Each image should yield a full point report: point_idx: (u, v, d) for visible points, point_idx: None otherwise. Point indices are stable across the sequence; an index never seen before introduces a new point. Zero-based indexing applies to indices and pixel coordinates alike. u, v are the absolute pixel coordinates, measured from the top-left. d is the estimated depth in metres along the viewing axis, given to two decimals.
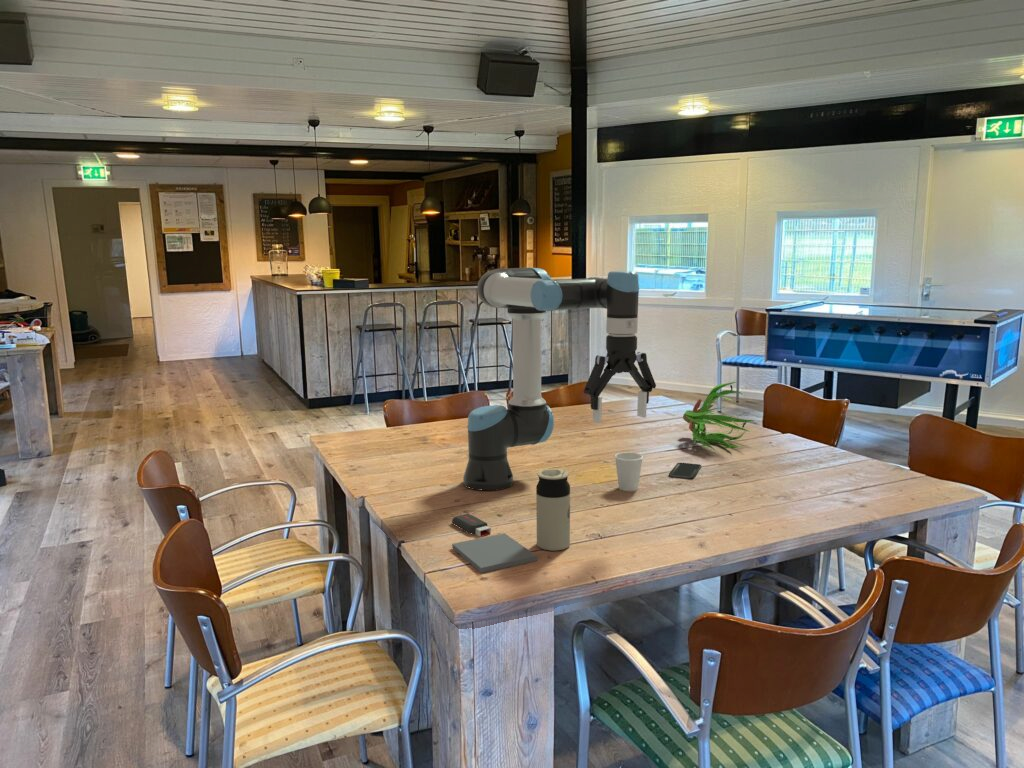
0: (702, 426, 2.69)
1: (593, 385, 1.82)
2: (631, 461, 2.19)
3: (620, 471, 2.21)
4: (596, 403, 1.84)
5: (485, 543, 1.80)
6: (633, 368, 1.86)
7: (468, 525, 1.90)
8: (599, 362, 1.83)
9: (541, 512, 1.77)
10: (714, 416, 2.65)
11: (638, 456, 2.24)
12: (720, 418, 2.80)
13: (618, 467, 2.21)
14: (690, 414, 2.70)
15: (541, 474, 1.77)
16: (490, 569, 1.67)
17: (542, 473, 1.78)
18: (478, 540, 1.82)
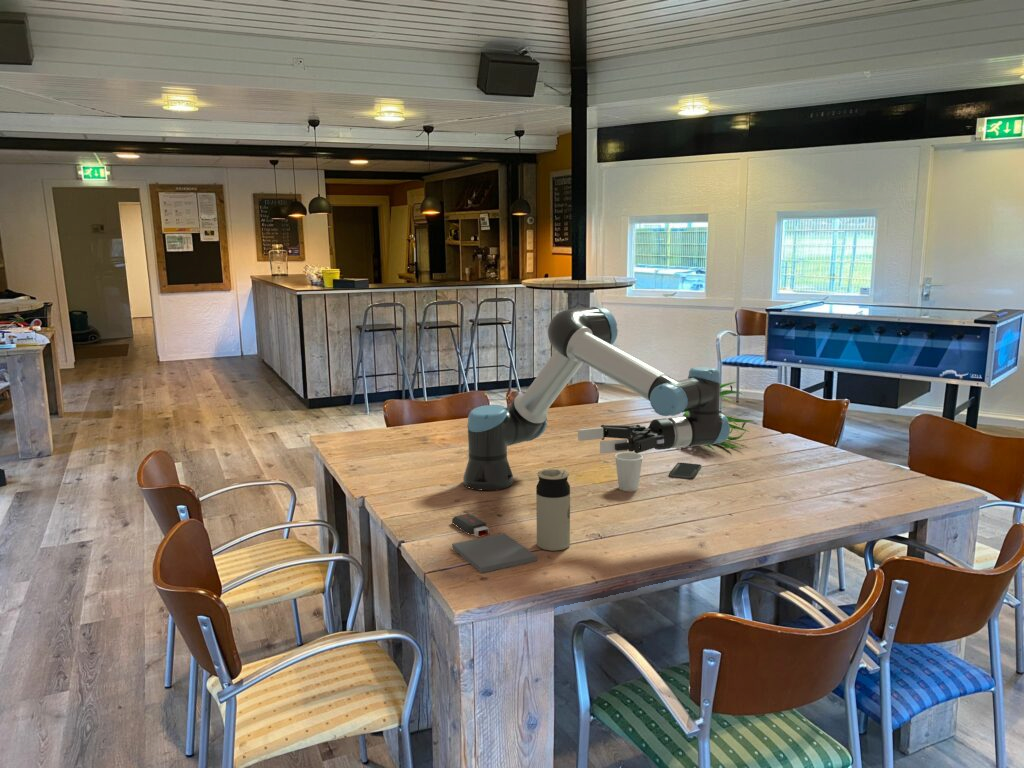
0: None
1: None
2: (631, 461, 2.19)
3: (620, 471, 2.21)
4: None
5: (485, 543, 1.80)
6: None
7: (467, 525, 1.90)
8: (659, 444, 1.78)
9: (541, 512, 1.77)
10: None
11: (638, 456, 2.24)
12: None
13: (618, 467, 2.21)
14: None
15: (541, 474, 1.77)
16: (490, 569, 1.67)
17: (542, 473, 1.78)
18: (478, 540, 1.82)
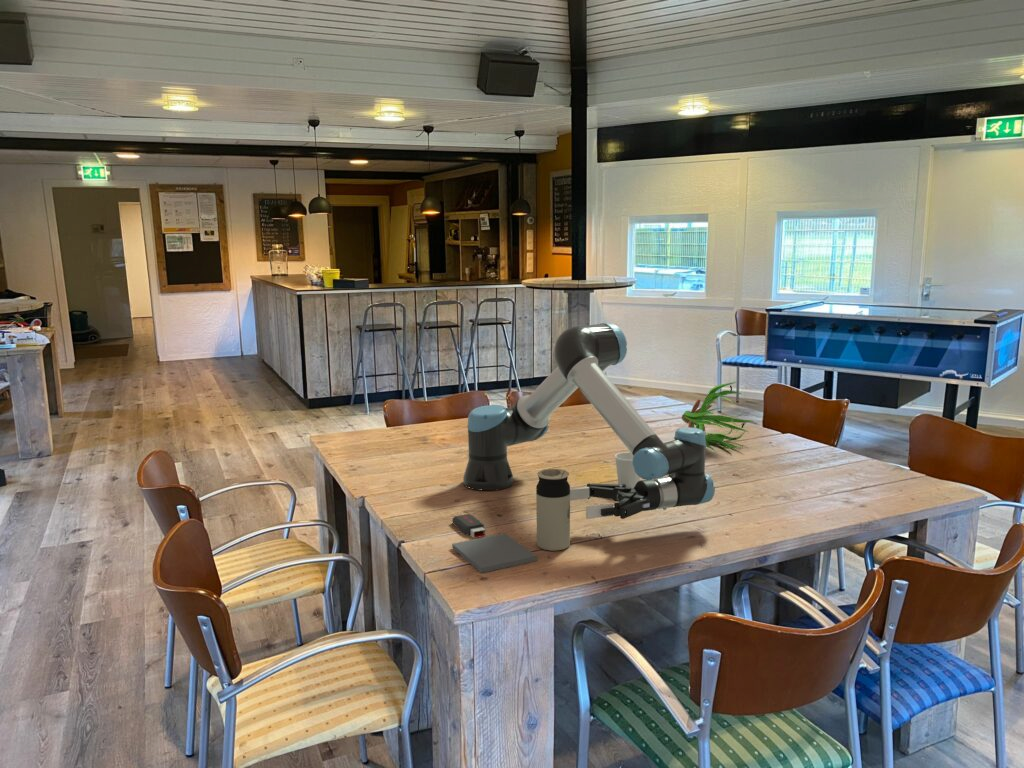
0: (701, 426, 2.69)
1: None
2: (631, 461, 2.19)
3: (620, 471, 2.21)
4: None
5: (485, 543, 1.80)
6: None
7: (464, 525, 1.90)
8: (645, 508, 1.79)
9: (541, 512, 1.77)
10: (714, 416, 2.65)
11: None
12: (719, 418, 2.80)
13: (618, 467, 2.21)
14: (689, 414, 2.69)
15: (541, 474, 1.77)
16: (490, 569, 1.67)
17: (542, 473, 1.78)
18: (478, 540, 1.82)
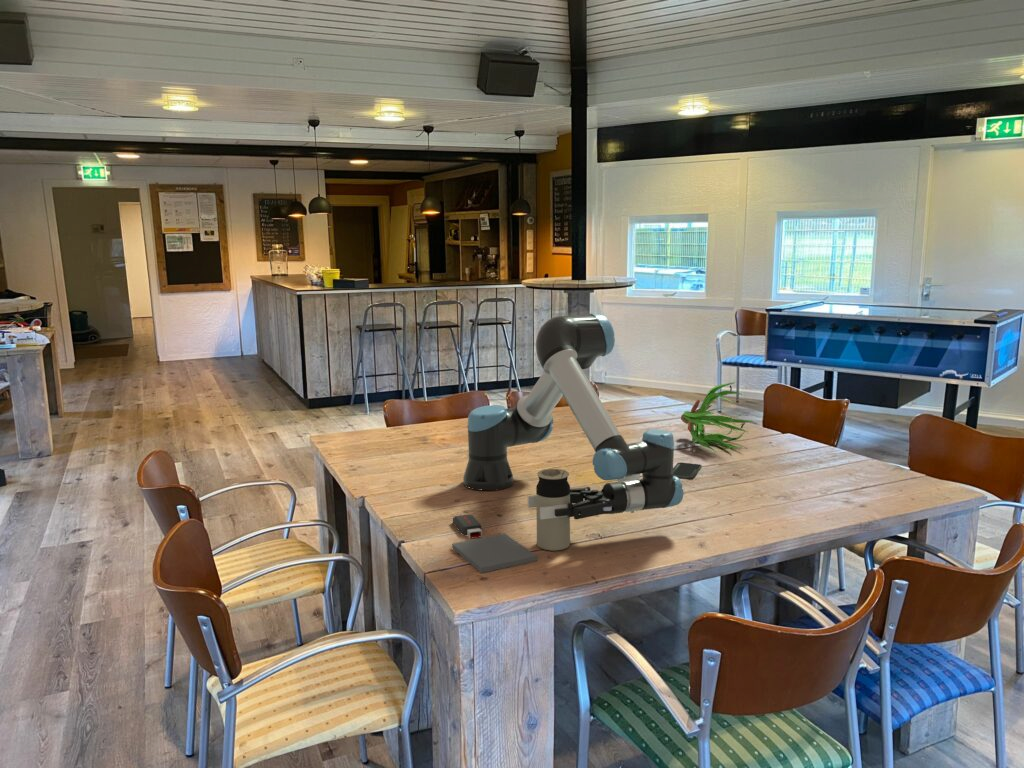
0: (701, 427, 2.68)
1: None
2: None
3: None
4: None
5: (485, 543, 1.80)
6: None
7: (462, 526, 1.90)
8: (605, 511, 1.77)
9: None
10: (713, 417, 2.64)
11: None
12: (718, 419, 2.79)
13: None
14: (689, 415, 2.68)
15: (541, 474, 1.77)
16: (490, 569, 1.67)
17: (542, 473, 1.78)
18: (478, 540, 1.82)
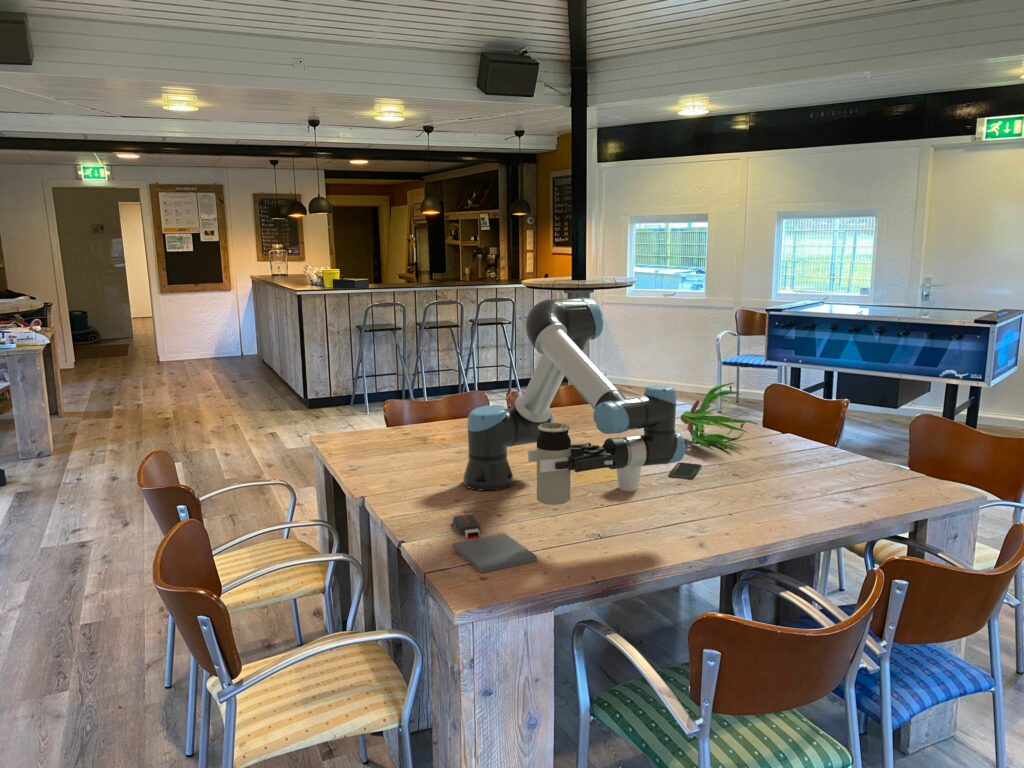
0: (701, 427, 2.68)
1: None
2: None
3: (620, 471, 2.21)
4: None
5: (485, 543, 1.80)
6: None
7: (460, 526, 1.90)
8: (606, 465, 1.75)
9: None
10: (713, 417, 2.64)
11: None
12: (718, 419, 2.79)
13: None
14: (689, 415, 2.68)
15: (541, 427, 1.75)
16: (490, 569, 1.67)
17: (542, 426, 1.76)
18: (478, 540, 1.82)
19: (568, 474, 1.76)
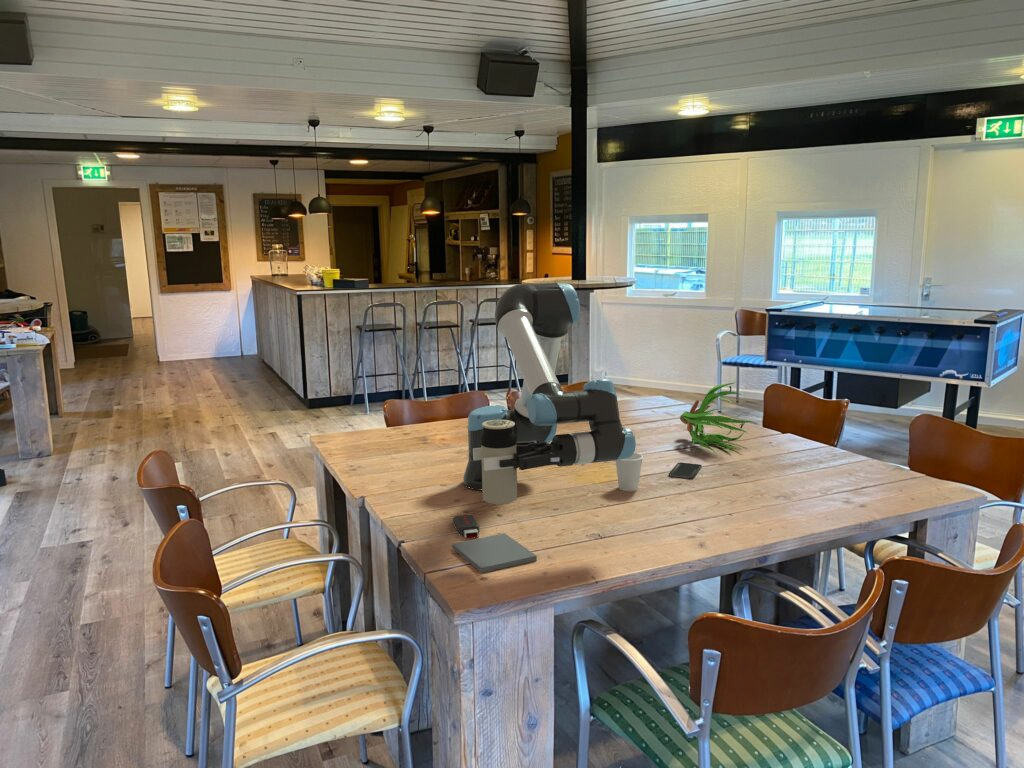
0: (701, 427, 2.67)
1: None
2: (631, 461, 2.19)
3: (620, 471, 2.21)
4: None
5: (485, 543, 1.80)
6: None
7: (459, 526, 1.90)
8: (553, 462, 1.70)
9: None
10: (713, 417, 2.64)
11: (638, 456, 2.24)
12: (717, 419, 2.79)
13: (618, 467, 2.21)
14: (688, 415, 2.68)
15: (485, 424, 1.70)
16: (490, 569, 1.67)
17: (487, 423, 1.71)
18: (478, 540, 1.82)
19: (514, 472, 1.71)
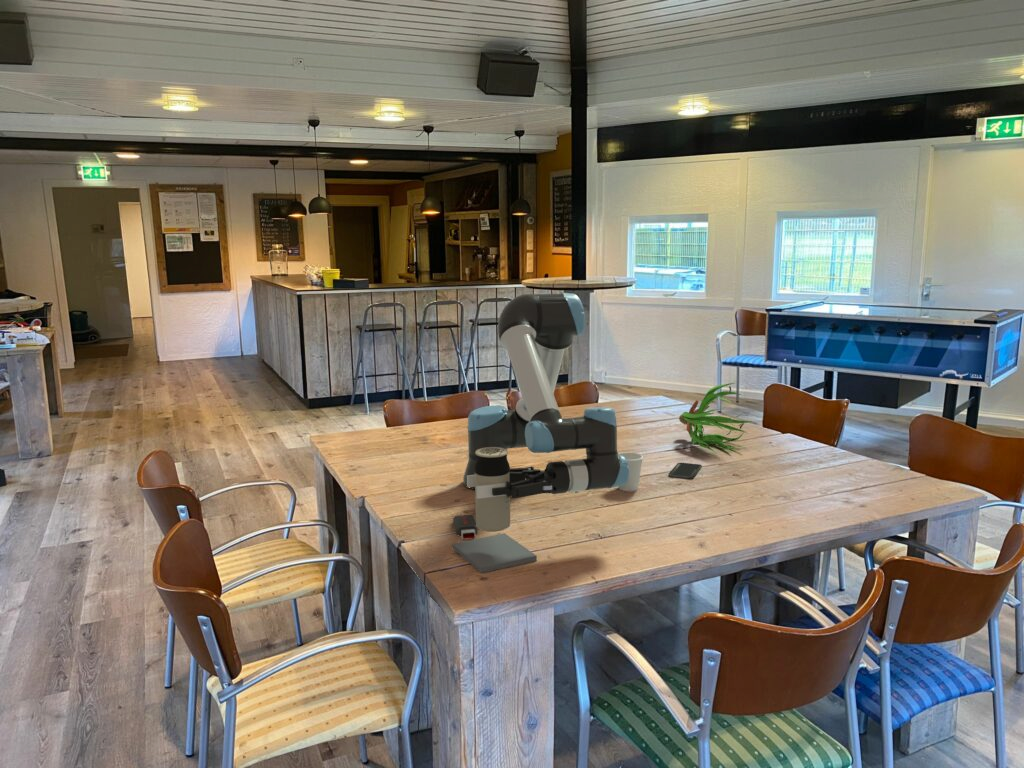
0: (700, 428, 2.67)
1: None
2: (631, 461, 2.19)
3: None
4: None
5: (485, 543, 1.80)
6: None
7: (457, 526, 1.90)
8: (545, 491, 1.71)
9: None
10: (713, 417, 2.63)
11: (638, 456, 2.24)
12: (716, 419, 2.78)
13: None
14: (688, 416, 2.67)
15: (479, 452, 1.71)
16: (490, 569, 1.67)
17: (480, 451, 1.72)
18: (478, 540, 1.82)
19: (507, 500, 1.72)
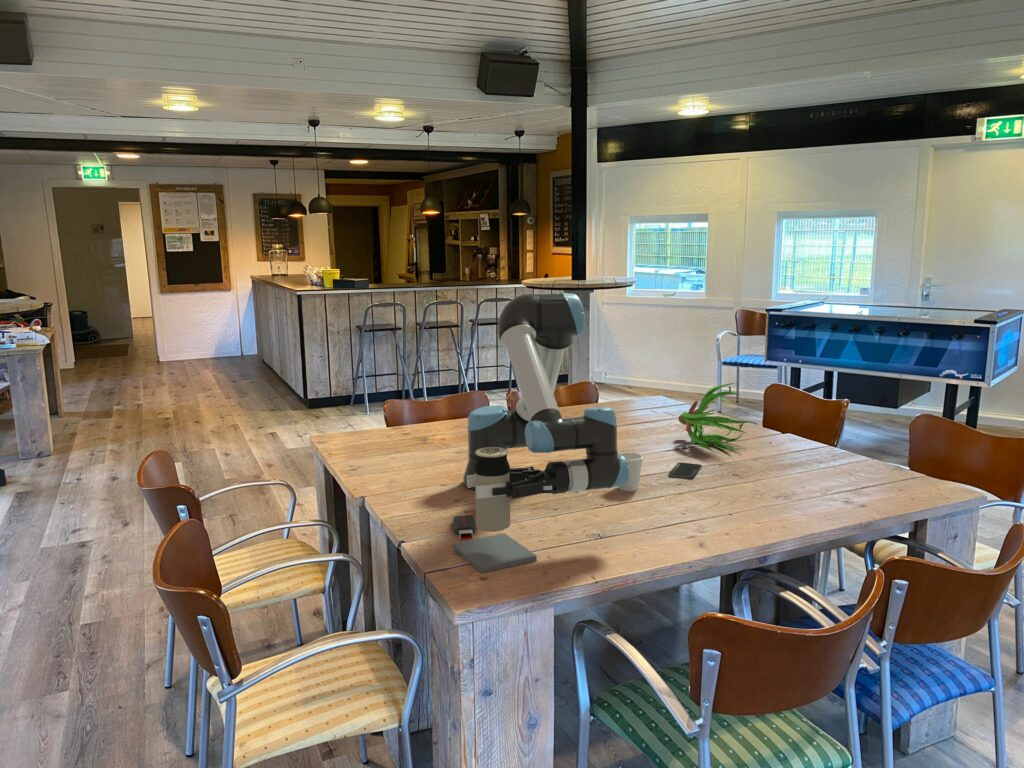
0: (700, 428, 2.66)
1: None
2: (631, 461, 2.19)
3: None
4: None
5: (485, 543, 1.80)
6: None
7: (455, 526, 1.90)
8: (545, 491, 1.71)
9: None
10: (712, 418, 2.63)
11: (638, 456, 2.24)
12: (716, 419, 2.78)
13: None
14: (688, 416, 2.67)
15: (479, 452, 1.71)
16: (490, 569, 1.67)
17: (480, 451, 1.72)
18: (478, 540, 1.82)
19: (507, 500, 1.72)
